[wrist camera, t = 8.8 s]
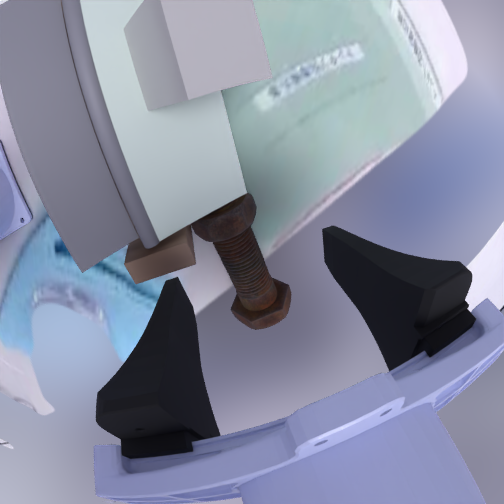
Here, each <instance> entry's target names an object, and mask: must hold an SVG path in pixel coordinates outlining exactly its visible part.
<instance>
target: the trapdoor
mask: <svg viewBox="0 0 504 504" xmlns="http://www.w3.org/2000/svg"><path fill="white" fill-rule="evenodd" d="M143 1H144V0H62V6H61V0H9V1H7V2H5V3H3V4H1V5H0V84H1V88H2V92H3V97H4V100H5V104H6V108H7V111H8V115H9V118H10V122H11V125H12V128H13V131H14V134H15V137H16V140H17V143H18V146H19V148H20V151H21V154H22V156H23V159H24V161H25V164H26V166H27V169H28V171H29V174H30V176H31V178H32V181H33V183H34V185H35V187H36V190H37V192H38V194H39V196H40V198H41V200H42V202H43V204H44V206H45V208H46V210H47V212H48V214H49V216H50V218H51V220H52V222H53V224H54V226H55V228H56V230H57V231H58V233H59V235H60V237H61V239H62V240H63V242H64V244H65V246H66V247H67V249H68V251H69V252H70V254H71V256H72V257H73V259H74V261H75V262H76V264H77V266H78V267H79V269H80V270H81V272H82V273H83V272H84V271H86V270H88V269H89V268H91V267H92V266H94V265H95V264H97V263H98V262H100V261H102V260H103V259H105V258H106V257H108V256H110V255H111V254H113V253H114V252H116V251H118V250H119V249H121V248H123V247H124V246H126V245H128V244H129V243H131V242H133V241H134V240H136V239H138V238H139V237H140V239H141V241H142V243H143V245H144V247H145V248H147V249H149V248H152V247H154V246H156V245H157V244H158V243H159V242H160V241H161V240H163V239H165V238H166V237H168V236H170V235H172V234H173V233H175V232H177V231H179V230H180V229H182V228H184V227H186V226H187V225H189V224H191V223H193V222H194V221H196V220H198V219H200V218H202V217H203V216H205V215H207V214H209V213H211V212H212V211H214V210H216V209H218V208H220V207H222V206H223V205H225V204H227V203H229V202H231V201H233V200H235V199H237V198H238V197H240V196H242V195H244V194H246V193H247V191H246V187H245V183H244V179H243V175H242V171H241V167H240V163H239V159H238V155H237V151H236V147H235V143H234V139H233V135H232V131H231V127H230V123H229V120H228V116H227V112H226V108H225V104H224V100H223V96H222V92H221V90H220V91H216V92H213V93H209V94H206V95H203V96H200V97H197V98H193V99H190V100H187V101H183V102H179V103H175V104H171V105H167V106H164V107H160V108H157V109H153V110H150V111H148V110H147V107H146V104H145V101H144V98H143V95H142V91H141V88H140V85H139V82H138V78H137V75H136V72H135V68H134V65H133V62H132V58H131V55H130V51H129V48H128V44H127V41H126V37H125V33H124V27H125V26H126V24H127V23H128V21H129V20H130V18H131V17H132V16H133V14H134V13H135V12H136V10H137V9H138V7H139V6H140V5H141V3H142V2H143ZM62 7H63V12H62ZM63 13H64V18H65V23H64V18H63ZM65 24H66V28H65ZM66 29H67V33H68V38H69V43H70V47H71V51H72V55H73V59H74V63H75V67H76V71H77V75H78V78H79V82H80V85H81V89H82V92H83V95H84V99H85V102H86V105H87V108H88V111H89V114H90V117H91V120H92V123H93V126H94V129H95V132H96V135H97V137H98V140H99V143H100V146H101V148H102V151H103V154H104V156H105V159H106V161H107V164H108V166H109V169H110V171H111V174H112V176H113V179H114V181H115V184H116V186H117V188H118V191H119V193H120V195H121V198H122V200H123V202H124V204H123V202H122V200H121V198H120V195H119V193H118V191H117V188H116V186H115V184H114V181H113V179H112V176H111V174H110V171H109V169H108V166H107V164H106V161H105V159H104V156H103V154H102V151H101V148H100V146H99V143H98V140H97V137H96V135H95V132H94V129H93V126H92V123H91V120H90V117H89V114H88V111H87V108H86V105H85V102H84V99H83V95H82V92H81V89H80V85H79V82H78V78H77V75H76V71H75V67H74V63H73V59H72V55H71V51H70V47H69V43H68V38H67V33H66ZM124 205H125V207H126V209H127V211H128V213H129V216H130V218H131V220H132V222H133V224H134V226H135V228H134V226H133V224H132V222H131V220H130V218H129V216H128V213H127V211H126V209H125V207H124ZM135 229H136V230H135ZM136 231H137V233H138V235H139V237H138V235H137V233H136Z"/></svg>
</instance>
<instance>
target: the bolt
mask: <svg viewBox="0 0 504 504" xmlns="http://www.w3.org/2000/svg"><path fill="white" fill-rule="evenodd" d="M255 215H256V205H255V202H254V199H253V197H252V195H251V194H249V193H246V194H244V195H242V196H240V197H238V198H237V199H235V200H233V201H231V202H229V203H227V204H225V205H223V206H222V207H220V208H218V209H216V210H214V211H212V212H211V213H209V214H207V215H205V216H203V217H202V218H200V219H198V220H196V221H194V222H193V223H191V226H192V228H193V230H194V232H195V234H197V235H198V236H199V237H201V238H202V239H204V240H206V241H209V242H213V244H214V246H215V248H216V250H217V252H218V254H219V255H220V258H221V260H222V262H223V264H224V266H225V268H226V270H227V272H228V273H229V276H230V278H231V280H232V282H233V284H234V286H235V288H236V292H237V295H236V297H235V300H234V302H233V305H232V307H231V311H232V313H233V314H234V316H235V317H236V318H237V319H238V320H239V321H241V322H242V323H243V324H245V325H247V326H248V327H249V328H251V329H255V330H257V329H264V328H267V327H270V326H273V325H275V324H277V323H278V322H280V321H281V320H282V319H284V318H285V317H286V315H287V314H288V311H289V307H290V302H291V291H290V287H289V285H288V284H285V283H283V282H281V281H278V280H276V279H274V278H272V277H271V276H270V274H269V272H268V269H267V267H266V264H265V261H264V258H263V256H262V254H261V251H260V248H259V246H258V243H257V241H256V238H255V235H254V233H253V231H252V228H251V224H252V223H253V221H254V218H255Z"/></svg>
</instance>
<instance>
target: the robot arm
mask: <svg viewBox="0 0 504 504" xmlns="http://www.w3.org/2000/svg"><path fill="white" fill-rule="evenodd" d="M22 218H23V219H24V221H23V220H22ZM31 219H32V215H31V213H30V211H29V209H28V207H27V205H26V203H25V201H24V199H23V197H22V194H21V192H20V190H19V188H18V186H17V183H16V181H15V179H14V176H13V174H12V172H11V169H10V167H9V164H8V162H7V159H6V156H5V154H4V151H3V148H2V145H1V142H0V240H1V239H3V238H5V237H6V236H8V235H9V234H11V233H13V232H14V231H16V230H17V229H19V228H21V227H22V226H24V225H26V224H28V223H29V222H30V221H31ZM322 232H323V245H324V259H325V263H326V265H327V267H328V269H329V270H330V272H331V274H332V275H333V277H334V279H335V280H336V281H337V283H338V284H339V285H340V286H341V288H342V289H343V290H344V292H345V293H346V294H347V295H348V297H349V298H350V299H351V301H352V302H353V303H354V305H355V306H356V307H357V309H358V310H359V312H360V313H361V315H362V317H363V318H364V320H365V322H366V323H367V325H368V327H369V329H370V331H371V333H372V335H373V336H374V338H375V340H376V342H377V344H378V346H379V348H380V351H381V353H382V355H383V357H384V359H385V362H386V364H387V367H388V369H389V372H388V373H380V374H377V375H375V376H372V377H370V378H368V379H366V380H364V381H361V382H360V383H357V384H355V385H353V386H351V387H349V388H347V389H345V390H342V391H340V392H338V393H335V394H333V395H331V396H328V397H326V398H324V399H321V400H319V401H317V402H314V403H311V404H309V405H307V406H305V407H303V408H301V409H299V410H297V411H295V412H294V413H293V414H291V415H290V416H288V417H285V418H282V419H279V420H276V421H273V422H270V423H266V424H263V425H260V426H256V427H253V428H249V429H246V430H242V431H238V432H235V433H231V434H227V435H222V436H220V432H219V429H218V427H217V424H216V421H215V418H214V414H213V411H212V408H211V404H210V401H209V397H208V393H207V390H206V387H205V382H204V378H203V373H202V368H201V361H200V353H199V343H198V332H197V323H196V319H195V314H194V310H193V306H192V304H191V302H190V300H189V298H188V296H187V294H186V292H185V290H184V288H183V286H182V284H181V282H180V280H179V278H178V277H176V278H173V279H170V280H167V281H166V282H165V284H164V286H163V289H162V291H161V294H160V297H159V299H158V302H157V304H156V307H155V309H154V311H153V314H152V316H151V318H150V320H149V323H148V325H147V327H146V329H145V331H144V333H143V335H142V337H141V338H140V340H139V342H138V343H137V345H136V347H135V348H134V350H133V351H132V353H131V354H130V355H129V357H128V358H127V360H126V361H125V363H124V364H123V365H122V366H121V368H120V369H119V370H118V371H117V373H116V374H115V375H114V376H113V377H112V378H111V379H110V381H109V382H108V383H107V384H106V385H105V386H104V387H103V388H102V389H101V390H100V391H99V392H98V394H97V403H96V422H97V423H98V425H99V426H100V427H101V428H103V429H104V430H106V431H107V432H109V433H111V434H112V435H114V436H116V437H118V438H120V439H121V446H120V445H95V446H94V474H95V489H96V495H97V496H99V497H103V498H106V499H110V500H115V501H119V502H124V503H129V504H183V503H198V502H208V501H217V500H226V499H232V498H239V497H242V500H243V504H486V502H485V500H484V498H483V497H482V494H481V492H480V490H479V488H478V486H477V484H476V482H475V480H474V479H473V476H472V475H471V473H470V471H469V469H468V467H467V465H466V463H465V462H464V460H463V458H462V456H461V454H460V453H459V451H458V449H457V447H456V446H455V444H454V442H453V440H452V439H451V437H450V435H449V433H448V432H447V430H446V429H445V427H444V425H443V423H442V422H441V420H440V419H439V417H438V415H437V414H436V412H437V411H438V410H440V409H441V408H442V407H443V406H445V405H446V404H447V403H449V402H450V401H451V400H452V399H453V398H455V397H456V396H457V395H458V394H459V393H461V392H462V391H463V390H464V389H465V388H466V387H468V386H469V385H470V384H471V383H472V382H473V381H474V380H475V379H476V378H478V376H480V375H481V374H482V373H483V372H484V371H485V370H486V369H487V368H488V367H489V366H490V365H491V364H492V363H493V362H494V361H495V360H496V359H497V358H498V356H499V355H500V354H501V353H502V351H503V350H504V315H503V314H502V313H501V312H500V311H499V310H498V309H497V307H496V306H495V305H494V304H493V303H492V302H491V301H490V300H489V299H488V298H487V299H485V300H484V301H483V302H481V303H480V304H479V305H478V306H476V307H475V308H474V309H473V310H472V312H470V311H469V310H468V309H467V308H468V307H469V304H468V303H467V302H466V301H465V298H466V296H467V293H468V291H469V288H470V286H471V282H472V273H471V271H469V270H468V269H467V268H466V267H465V266H464V265H463V264H462V263H461V262H459V261H442V260H435V259H427V258H421V257H417V256H412V255H408V254H404V253H401V252H397V251H394V250H391V249H388V248H385V247H382V246H380V245H377V244H374V243H372V242H370V241H367V240H365V239H363V238H360V237H358V236H356V235H354V234H351V233H350V232H347V231H345V230H343V229H341V228H338V227H336V226H330V227H327V228H324V229H322Z"/></svg>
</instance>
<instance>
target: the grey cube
mask: <svg viewBox="0 0 504 504" xmlns="http://www.w3.org/2000/svg"><path fill="white" fill-rule="evenodd" d="M124 33H125V37H126V41H127V44H128V48H129V51H130V55H131V58H132V62H133V65H134V68H135V72H136V75H137V78H138V82H139V85H140V88H141V91H142V95H143V98H144V101H145V104H146V107H147V110H148V111H150V110H153V109H157V108H160V107H164V106H167V105H171V104H175V103H179V102H183V101H187V100H190V99H193V98H197V97H200V96H203V95H206V94H209V93H213V92H216V91H220V90H223V89H227V88H231V87H235V86H239V85H243V84H247V83H251V82H256V81H260V80H265V79H270V78H273V77H272V73H271V69H270V65H269V61H268V57H267V53H266V49H265V45H264V41H263V37H262V33H261V29H260V26H259V22H258V18H257V15H256V11H255V8H254V4H253V1H252V0H144V1H143V2H142V3H141V5H140V6H139V7H138V9H137V10H136V12H135V13H134V14H133V16H132V17H131V18H130V20H129V21H128V23H127V24H126V26H125V27H124Z"/></svg>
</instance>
